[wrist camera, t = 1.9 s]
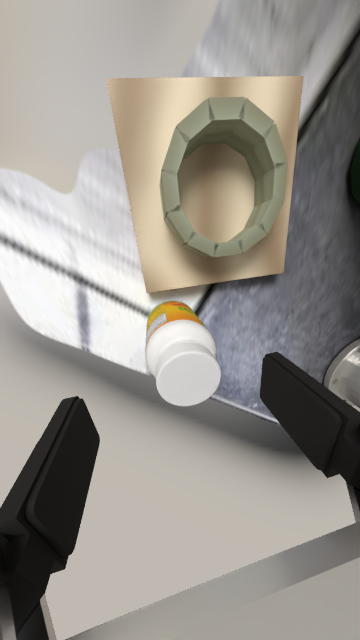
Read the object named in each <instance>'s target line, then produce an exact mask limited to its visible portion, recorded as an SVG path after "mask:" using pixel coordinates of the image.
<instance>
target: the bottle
mask: <svg viewBox="0 0 360 640" xmlns="http://www.w3.org/2000/svg"><path fill="white" fill-rule="evenodd" d="M350 173H351V186H352V195H353V197H354V198H355V199H356V201H357V202H358V203H359V204H360V139H359V142H358V146H357V149H356V152H355V156H354V159H353V162H352V165H351V169H350Z"/></svg>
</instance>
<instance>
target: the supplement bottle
mask: <svg viewBox="0 0 360 640" xmlns="http://www.w3.org/2000/svg"><path fill="white" fill-rule="evenodd" d="M145 355H146V363H147V366H148V369H149V370H150V372H151V373H152V375H153V376H154V377H155V378H156V385H157V389H158V392H159V394H160V395H161V397H162V398H163V399H164V400H166V401H167V402H169V403H171V404H174V405H177V406H191V405H195V404H198V403H201V402H203V401H205V400H206V399H208V398H209V397H210V396H211V395H212V394H213V393H214V392H215V391H216V389H217V387H218V385H219V383H220V379H221V371H220V367H219V365H218V363H217V361H216V359H215V357H216V347H215V342H214V340H213V338H212V336H211V334H210V333H209V331H208V330H207V329H206V327H205V326H204V325H203V324H202V322H201V321H200V320H199V318H198V317H197V316H196V314H195V313H194V312H193V310H192V309H191V308H190V307H189V306H188V305H186V304H185V303H183V302H181V301H177V300H168V301H164V302H162V303H160V304H158V305H157V306H156V307H154V308H153V310H152V311H151V312H150V314H149V317H148V320H147V333H146V351H145Z"/></svg>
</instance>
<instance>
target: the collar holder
mask: <svg viewBox="0 0 360 640" xmlns="http://www.w3.org/2000/svg"><path fill="white" fill-rule="evenodd" d="M106 80H107V86H108V91H109V96H110V101H111V107H112V112H113V117H114V122H115V127H116V133H117V138H118V144H119V149H120V154H121V160H122V165H123V170H124V176H125V181H126V186H127V191H128V197H129V202H130V207H131V213H132V218H133V223H134V228H135V234H136V239H137V244H138V250H139V255H140V260H141V265H142V271H143V276H144V281H145V287H146V292H147V293H150V292H157V291H164V290H170V289H177V288H184V287H191V286H197V285H204V284H211V283H218V282H225V281H231V280H238V279H245V278H252V277H259V276H265V275H272V274H279V273H283V271H284V261H285V251H286V241H287V231H288V222H289V212H290V202H291V192H292V183H293V173H294V163H295V153H296V143H297V134H298V124H299V114H300V104H301V94H302V85H303V76H279V77H198V78H124V79H123V78H117V79H106Z"/></svg>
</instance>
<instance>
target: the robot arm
mask: <svg viewBox="0 0 360 640" xmlns="http://www.w3.org/2000/svg"><path fill="white" fill-rule="evenodd" d="M260 397H261V400H262V401H263V403H264V404H265V405H266V407H267V408H268V409H269V410H270V412H271V413H272V414H273V415H274V417H275V418H276V419H277V420H278V422H279V423H280V424H281V425H282V427H283V428H284V429H285V430H286V431H287V433H288V434H289V435H290V436H291V438H292V439H293V440H294V442H295V443H296V444H297V445H298V446H299V448H300V449H301V450H302V451H303V453H304V454H305V455H306V457H307V458H308V459H309V460H310V461H311V463H312V464H313V465H314V466H315V467H316V468H317V469H318V470H321V471H322V472H323V473H324V474H325V476H326V477H327V478H329V477H332V476H335V475H338V474H340V475H341V476H342V477H343V478H344V479H345V481H346V484H347V488H348V492H349V496H350V500H351V504H352V508H353V512H354V516H355V521H356V523H354V524H352V525H349V526H347V527H344V528H342V529H339V530H336V531H334V532H331V533H329V534H326V535H324V536H321V537H319V538H316V539H313V540H311V541H308V542H306V543H303V544H301V545H298V546H296V547H293V548H290V549H288V550H285V551H283V552H280V553H278V554H275V555H273V556H270V557H268V558H265V559H263V560H260V561H258V562H255V563H252V564H250V565H248V566H245V567H243V568H240V569H238V570H235V571H232V572H230V573H227V574H225V575H222V576H220V577H218V578H215V579H213V580H210V581H207V582H205V583H202V584H200V585H197V586H195V587H192V588H190V589H187V590H185V591H182V592H180V593H178V594H175V595H172V596H170V597H167V598H165V599H162V600H160V601H158V602H155V603H153V604H150V605H148V606H145V607H143V608H140V609H138V610H135V611H133V612H130V613H128V614H125V615H123V616H120V617H118V618H115V619H113V620H111V621H108V622H106V623H103V624H101V625H98V626H96V627H94V628H91V629H89V630H87V631H84V632H82V633H80V634H78V635H75V636H73V637H70V638H68V639H66V640H360V412H359V411H357V410H356V409H355V408H353V407H352V405H356V406H357V407H359V408H360V339H358V340H356V341H354V342H352V343H351V344H350V345H348V346H347V347H346V348H344V349H343V350H342V351H341V352H340V353H339V354H338V355H337V356H336V358H335V359H334V360H333V361H332V363H331V364H330V366H329V368H328V370H327V372H326V375H325V378H324V386H323V385H322V384H321V383H319V382H318V381H317V380H315V379H314V378H313V377H311V376H310V375H309V374H307V373H306V372H304V371H303V370H302V369H300V368H299V367H298V366H296V365H295V364H294V363H292V362H291V361H290V360H288V359H287V358H285V357H284V356H283V355H281V354H280V353H278V352H274V353H269V354H266V355H265V357H264V358H263V364H262V376H261V388H260ZM99 442H100V438H99V434H98V432H97V430H96V428H95V425H94V423H93V421H92V418H91V416H90V414H89V412H88V409H87V407H86V405H85V402H84V400H83V399H79V397H78V396H76V397H71V398H66V399H63V400H62V401H61V403H60V405H59V406H58V408H57V410H56V412H55V413H54V415H53V417H52V419H51V421H50V422H49V424H48V426H47V428H46V429H45V431H44V433H43V435H42V437H41V438H40V440H39V441H38V443H37V444H36V446H35V448H34V450H33V451H32V453H31V455H30V457H29V459H28V460H27V462H26V464H25V466H24V467H23V469H22V471H21V473H20V474H19V476H18V478H17V480H16V482H15V483H14V485H13V487H12V489H11V490H10V492H9V494H8V496H7V497H6V499H5V501H4V503H3V504H2V506H1V508H0V640H56V636H55V632H54V628H53V625H52V620H51V616H50V612H49V609H48V605H47V601H46V597H45V591H46V587H47V584H48V581H49V577H50V574H52V573H55V572H58V571H61V570H64V569H65V568H66V564H67V559H68V556H69V555H70V554H72V552H73V550H74V548H75V544H76V540H77V536H78V532H79V528H80V524H81V519H82V515H83V511H84V507H85V502H86V498H87V494H88V489H89V486H90V481H91V477H92V472H93V469H94V464H95V460H96V456H97V452H98V448H99Z"/></svg>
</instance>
